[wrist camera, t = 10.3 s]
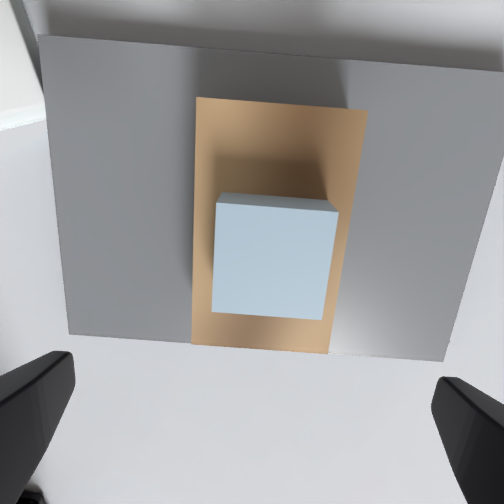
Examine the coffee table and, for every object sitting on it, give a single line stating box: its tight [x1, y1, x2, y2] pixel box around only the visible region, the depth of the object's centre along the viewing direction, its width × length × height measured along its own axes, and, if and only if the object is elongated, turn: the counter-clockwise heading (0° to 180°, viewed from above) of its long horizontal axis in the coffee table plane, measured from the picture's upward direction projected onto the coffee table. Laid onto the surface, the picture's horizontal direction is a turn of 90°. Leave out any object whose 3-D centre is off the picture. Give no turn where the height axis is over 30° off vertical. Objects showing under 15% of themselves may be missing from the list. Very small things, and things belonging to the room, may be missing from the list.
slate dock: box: [38, 34, 504, 362], centre depth 18 cm, size 20×14×2 cm
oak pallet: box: [191, 97, 368, 354], centre depth 16 cm, size 6×10×3 cm, turn 176°
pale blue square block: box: [211, 192, 339, 320], centre depth 13 cm, size 4×4×2 cm
